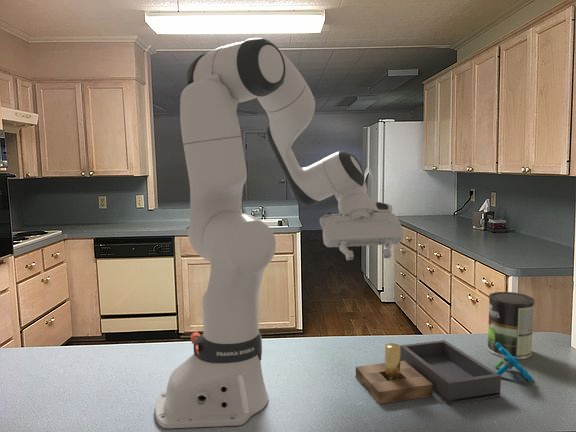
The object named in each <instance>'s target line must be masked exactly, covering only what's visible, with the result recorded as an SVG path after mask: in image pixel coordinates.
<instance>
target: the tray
mask: <svg viewBox="0 0 576 432" xmlns="http://www.w3.org/2000/svg"><path fill="white" fill-rule="evenodd" d="M399 345H400V347H401V348H400V361H405V362H407V363H408V364H409V365H410V366H411V367H413V368H414V369H415V370H416V371H417V372H419V373H420V374H421V375H422V376H423V377H425V378H426V379H427V380H428V381H429V382H431V383H432V384H433V394H435V395H436V396H437V398H440V399H441V400H442V401H443V402H444V403H445V404H446V405H448V406H450V405H457V404H462V403H463V404H464V403H469V402H476V401H481V400H488V399H494V398H500V397H501V387H502V386H501V382H502V381H501V380H502V375H499V374H497V373H496V372H497V371H494V370H492V369H491V368H489V367H488V366H486V365H484V364H483V363H482V362H480V361H478V360H477V359H476V358H473V357H472V356H471V355H469V354H467V353H465V352H464V351H462V350H461V349H460V348H457V347H456V346H455V345H453V344H452V343H450V342H449V341H447V340H445V339H443V340H435V341H433V340H432V341H425V342H417V343H409V344H408V343H407V344H399Z"/></svg>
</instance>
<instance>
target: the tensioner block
mask: <svg viewBox="0 0 576 432" xmlns="http://www.w3.org/2000/svg"><path fill="white" fill-rule="evenodd" d="M355 378H356V379H357V381H358V382H359V383H360V385H362V387H363V388H364V389H365V390H366V391H367V392H368V394H369V395H371V397H372V398H373V400H375V402H376V403H378V405H380V404H388V403H393V402H401V401H409V400H413V399H421V398H429V397H432V396H433V394H434V392H433V384H432V383H431V382H429V381H428V380H427V379H426V378H425V377H423V376H422V375H421V374H420V373H419V372H417V371H416V370H415V369H414V368H413V367H411V366H410V365H409V364H408V363H407V362H405V361H400V379H399V380H392V381H387V380H386V379H385V362H383V363H376V364H368V365H359V366H356V367H355Z"/></svg>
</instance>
